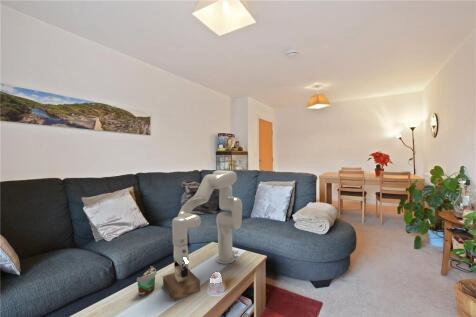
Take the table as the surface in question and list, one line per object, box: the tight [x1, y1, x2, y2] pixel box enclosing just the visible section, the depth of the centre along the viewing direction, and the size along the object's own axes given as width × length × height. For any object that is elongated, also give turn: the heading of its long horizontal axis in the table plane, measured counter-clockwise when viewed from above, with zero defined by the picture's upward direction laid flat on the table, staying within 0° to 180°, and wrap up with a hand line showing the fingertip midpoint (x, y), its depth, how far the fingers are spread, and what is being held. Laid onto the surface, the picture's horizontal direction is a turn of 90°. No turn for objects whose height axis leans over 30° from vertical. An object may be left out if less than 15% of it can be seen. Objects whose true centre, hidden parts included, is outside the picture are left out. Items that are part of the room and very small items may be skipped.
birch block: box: [174, 265, 187, 282], centre depth 120 cm, size 5×5×6 cm
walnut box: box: [162, 268, 201, 302], centre depth 120 cm, size 14×16×5 cm
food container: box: [136, 265, 158, 297], centre depth 118 cm, size 12×6×10 cm, turn 168°
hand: (180, 272), depth 120 cm, fingers open, 9 cm apart
